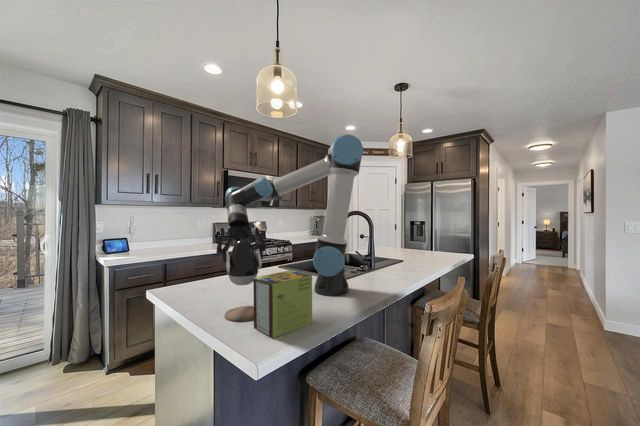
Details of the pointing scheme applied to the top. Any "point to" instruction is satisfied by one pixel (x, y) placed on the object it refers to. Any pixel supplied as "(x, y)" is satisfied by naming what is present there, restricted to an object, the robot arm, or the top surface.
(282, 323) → the protein box
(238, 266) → the pump dispenser
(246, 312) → the walnut trivet
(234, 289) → the top surface
